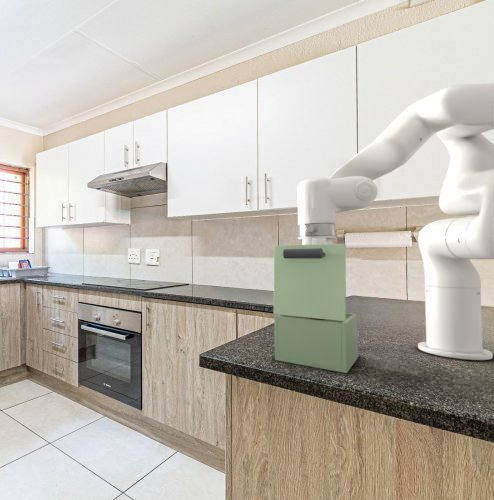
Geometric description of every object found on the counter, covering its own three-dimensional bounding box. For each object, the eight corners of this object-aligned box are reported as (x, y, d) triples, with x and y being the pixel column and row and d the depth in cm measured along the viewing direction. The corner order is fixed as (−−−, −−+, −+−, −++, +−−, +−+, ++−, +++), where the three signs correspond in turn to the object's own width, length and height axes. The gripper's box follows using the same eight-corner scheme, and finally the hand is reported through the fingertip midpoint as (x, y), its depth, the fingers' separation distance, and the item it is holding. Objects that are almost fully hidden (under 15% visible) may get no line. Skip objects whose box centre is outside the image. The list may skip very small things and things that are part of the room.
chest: (294, 347, 88) (293, 308, 88) (358, 356, 79) (357, 313, 79) (274, 360, 77) (274, 316, 78) (346, 373, 68) (345, 323, 68)
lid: (275, 246, 79) (266, 243, 75) (345, 244, 70) (340, 241, 66) (274, 314, 78) (266, 315, 74) (346, 321, 69) (340, 322, 65)
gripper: (326, 230, 71) (328, 318, 71) (342, 233, 84) (344, 308, 83) (287, 232, 76) (289, 314, 76) (308, 235, 89) (309, 305, 88)
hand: (318, 310), depth 80 cm, fingers closed on onion, 5 cm apart
